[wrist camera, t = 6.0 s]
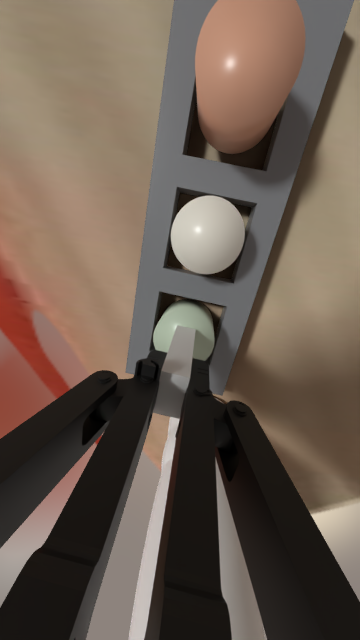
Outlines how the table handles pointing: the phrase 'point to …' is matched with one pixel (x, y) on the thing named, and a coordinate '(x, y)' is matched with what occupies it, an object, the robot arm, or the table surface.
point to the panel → (224, 182)
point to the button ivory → (207, 234)
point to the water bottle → (232, 561)
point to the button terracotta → (246, 69)
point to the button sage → (186, 316)
